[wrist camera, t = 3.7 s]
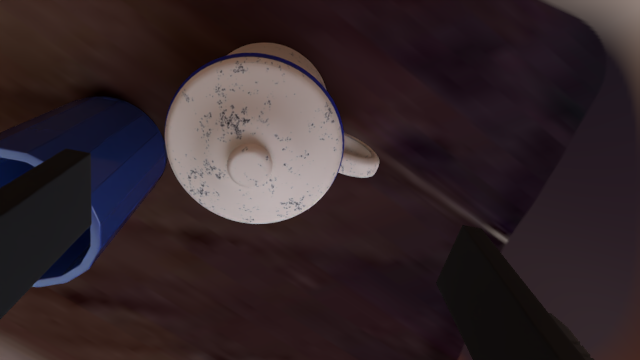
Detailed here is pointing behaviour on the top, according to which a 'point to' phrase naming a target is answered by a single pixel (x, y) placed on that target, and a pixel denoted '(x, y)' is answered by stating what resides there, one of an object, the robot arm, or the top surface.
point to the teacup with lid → (260, 136)
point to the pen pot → (106, 167)
